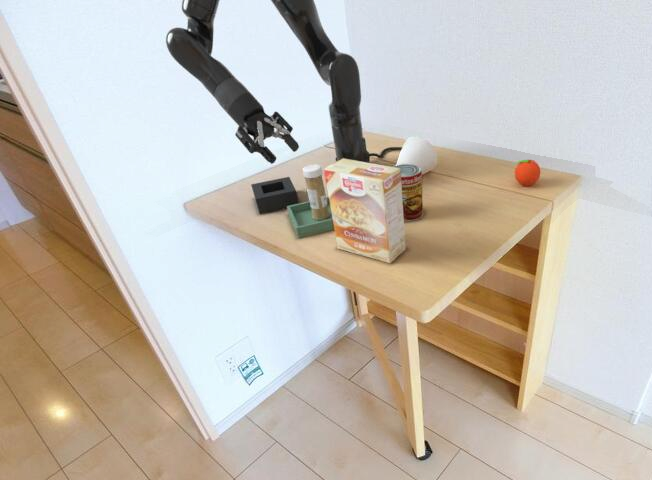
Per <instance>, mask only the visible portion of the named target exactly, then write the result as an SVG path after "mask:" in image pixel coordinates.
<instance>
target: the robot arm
mask: <svg viewBox="0 0 652 480" xmlns="http://www.w3.org/2000/svg"><path fill="white" fill-rule="evenodd" d="M270 2H271V3H272V4H273V6H274V8H275V9H276V10H277V12H278V14H279V15H280V16H281V17H282V19H283V20H284V21H285V23H286V25H287V26H288V27H289V29H290V30H291V32H292V33H293V34H294V36H295V38H297V41H299V42H300V44H301V45H302V46H303V49H304V50H305V51H306V53H307V55H308V57H309V59H310V60H311V62H312V64H313V66H314V68H315V70H316V72H317V73H318V75H319V77H320V79H321V80H322V82H323V83H325V84H326V85H327V86H329V87H330V91H331V102H330V103H329V104H328V112H329V113H328V114H329V119H330V126H331V132H332V138H333V139H332V140H333V144H334V152H335V163H336V162H337V161H339V160H341V159H343V158H344V159H349V160H355V161H361V162H366V163H371V158H370V157H376V158H378V159H381V158H382V157H383V156H384V154H385V153H386V152H388V151H394V150H395V151H401V149H402V147H403V146H389V147H386V148H384V149H383V150H381V153H380V154H378V153H377V152H374V153H371V152H369V151H368V150H367V141H366V138H365V137H364V133H363V124H362V115H361V103H362V90H361V89H362V88H361V76H360V75H361V74H360V69H359V65H358V62H357V61H356V59H355V58H354V57H353V56H352V55H350V54H348V53H346V52H340V51H339V50H338V49H337V47H335V44H333V42H332V41H331V39H330V37H328V35H327V32H325V31H326V30H325V29H324V28H323V25H322V22H321V19H320V16H319V12H318V9H317V8H318V7H317V6H316V3H315V0H270ZM219 5H220V0H182V1H181V11H182V13H183V15H184V16H185V17H186V18H187V26H186V28H184V27H173V28H171V29H170V30H168V32H167V33H166V37H165V44H166V48H167V50H168V52H169V54H170V56H171V57H172V58H173V59H174V61H176V62H177V63H178V64H179V66H181V67H182V68H183V69H184V70H185V71H187V73H189V74H190V75H191V76H192V77H194V78H195V79H196V80H197V81H198V82H200V83H201V85H203V87H204V88H205V89H206V90H207V91H208V93H210V94H211V96H212V97H213V98H214V99H215V101H216V102H217V103H218V105H219V106H220V107H221V108H222V109H223V110H224V112H225V113H226V114H227V115H228V116H229V117H230V119H232V120H233V121H234V122H235V124H236V125H237V126H238V127H237V130H236V131H235V138H237V139H238V141H240V143H241V144H242V145H243V146H244V148H245V149H246V150H247V151H248V152H249V154H254V153H258V154H260V155H261V156H262V157H263V158H264V160H265V161H266V162H267V163H270V164H271V165H273V164H274V163H276V160H277V156H276V155H275V154H274V153H273V152H272V150H270V149H269V148H268V146H265V140H266V139H270V138H271V137H273V138H275V139H276V138H278V139H281V140H283V142H284V143H285V144H286V145H287V146H288V148H290V150H292V152H294V153H295V152H297V151H298V150H299V148H300V146H299V145H300V144H299V143H298V141H296V140H295V138H294V137H293V136H292V135H291V133H292V132H293V130H294V128H293V126H291V125H290V123H289V122H288V121H287V120H286V119H285V118H284V117H283V116H282V115H281V114H280V113H279V112H278V111H274V112H273V113H272V114H271V115H268V114H267V113H266V112H265V109H264V106H263V105H262V104H261V103H260V102H259V101H258V99H257V98H256V97H255V96H254V95H253V94H252V93H251V91H249V89H248V88H247V87H246V86H245V85H244V84H243V83H242V82H241V81H240V80H239V79H237V77H236V76H235V75H234V74H233V73H232V72H231V71H230V69H229V68H228V67H227V66H226V65H224V63H223V62H221V61H220V60H218V59H217V58H215V57H213V56H212V53H213V47H214V32H215V31H214V30H215V29H214V25H215V18H216V15H217V11H218V8H219ZM275 129H276V130H275ZM251 136H252V137H251Z"/></svg>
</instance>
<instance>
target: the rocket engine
mask: <svg viewBox="0 0 652 480" xmlns="http://www.w3.org/2000/svg"><path fill="white" fill-rule="evenodd" d="M401 147H402V149H401V150H400V152H399V155H398V158H397V162H396V164H395V165H394V166H397V165H401V164H414V165H418V166H420V167H421V172H422V176H423V175H425V174H426V173H429V172H430V171H431V170H433V169H434V168H435V167H436V166H437V163H438V155H437V152H436V150H435V149H436V148H435V147H434V146H433V145H432V144H431V143H430V141H428V140H427V139H426V138H424V137H421V136H416V135H414V136H410V137H408V138H407V139H406V140H405V142H404V143H403V145H402V146H401Z"/></svg>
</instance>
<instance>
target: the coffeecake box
mask: <svg viewBox="0 0 652 480" xmlns="http://www.w3.org/2000/svg"><path fill="white" fill-rule="evenodd" d="M323 172H324V173H323V174H324V177H325V178H324V179H325V183H326V190H327V195H328V197H329V201H330V207H331V212H332V218H333V223H334V229H335V230H334V234H335V235H334V236H335V239H336V245H337V249H338V250H341V251H344V252H345V251H346V252H349V253H353V254H356V255H358V256H363V257H366V258H370V259H373V260H377V261H380V262H384V263H386V264H392V262H394V261H395V260H396V259H397V258H398V256H400V255H402V253H404V252H405V251H406V249H407V248H406V235H405V221H404V217H403V202H402V187H401V172H400V168H395V167H394V166H388V165H382V164H378V163H372V162H368V163H366V162H361V161H355V160H349V159H344V158H343V159H341V160H339V161H337V162H336V161H335V162H334V163H332V164H329V165H328V166H326V167H325V168H324V169H323Z"/></svg>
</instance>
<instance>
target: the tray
mask: <svg viewBox="0 0 652 480" xmlns="http://www.w3.org/2000/svg"><path fill="white" fill-rule="evenodd" d="M326 199H327V205H328V210H329V213H330V216H329V217H328V218H327V219H324V220H315V219H313V213H312V209H311V206H310V201H309V200H308V201H304V202H299V204H294V205H290V206H287V208H286V209H287V213H288V217H289V219H290V221H291V224H292V226H293V228H294V231H295V233H296V237H297V238H298V239H300V238H301V239H302V238H305V237H309V236H313V235H317V234H323V233H326V232H331V231H335V229H334V223H333V218H332V212H331V207H330V201H329V196H326Z"/></svg>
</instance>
